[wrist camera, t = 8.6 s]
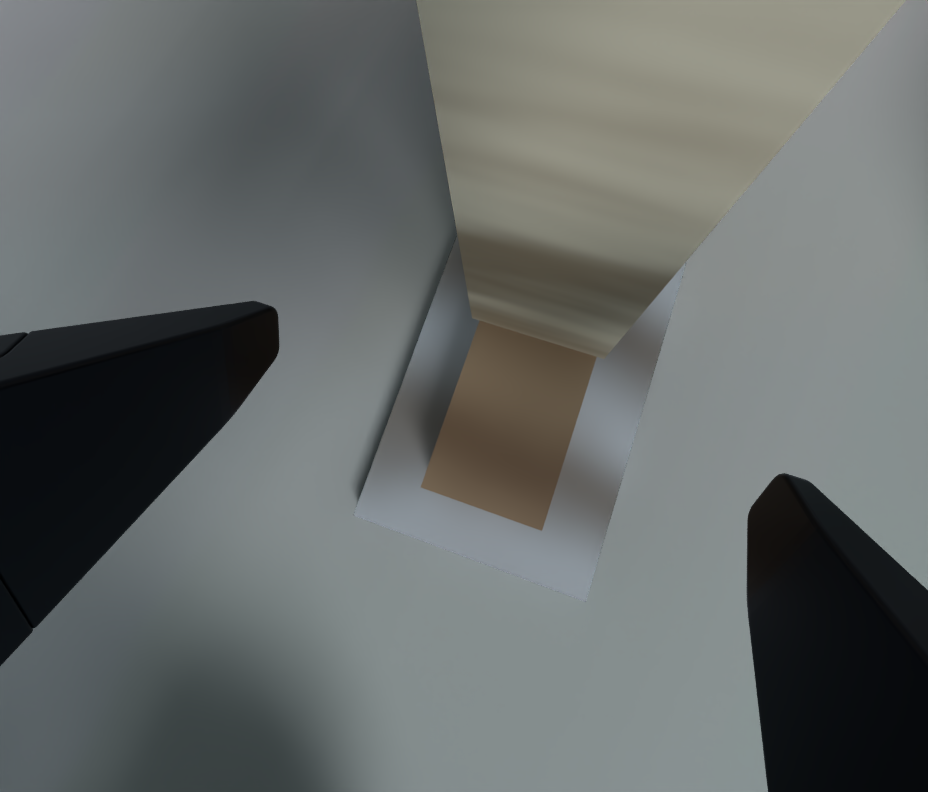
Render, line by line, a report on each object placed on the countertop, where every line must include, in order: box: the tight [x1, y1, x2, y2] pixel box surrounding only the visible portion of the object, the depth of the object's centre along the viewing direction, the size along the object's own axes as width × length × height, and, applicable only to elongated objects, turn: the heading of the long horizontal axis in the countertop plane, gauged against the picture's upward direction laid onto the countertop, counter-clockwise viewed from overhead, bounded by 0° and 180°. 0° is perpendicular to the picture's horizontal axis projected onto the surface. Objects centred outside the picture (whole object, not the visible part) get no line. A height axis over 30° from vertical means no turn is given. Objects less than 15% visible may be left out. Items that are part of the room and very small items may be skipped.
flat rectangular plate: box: [354, 235, 687, 602], centre depth 19 cm, size 20×9×4 cm, turn 161°
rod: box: [416, 0, 906, 359], centre depth 10 cm, size 4×4×13 cm
